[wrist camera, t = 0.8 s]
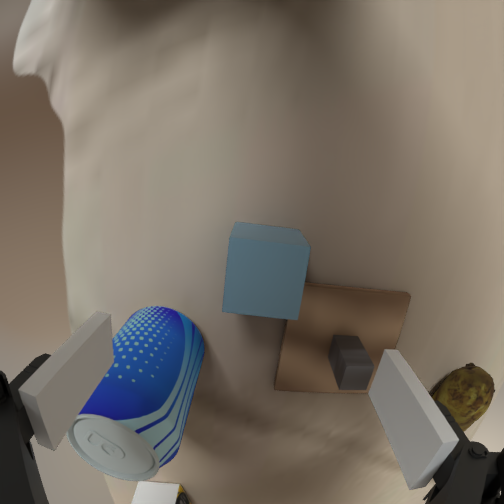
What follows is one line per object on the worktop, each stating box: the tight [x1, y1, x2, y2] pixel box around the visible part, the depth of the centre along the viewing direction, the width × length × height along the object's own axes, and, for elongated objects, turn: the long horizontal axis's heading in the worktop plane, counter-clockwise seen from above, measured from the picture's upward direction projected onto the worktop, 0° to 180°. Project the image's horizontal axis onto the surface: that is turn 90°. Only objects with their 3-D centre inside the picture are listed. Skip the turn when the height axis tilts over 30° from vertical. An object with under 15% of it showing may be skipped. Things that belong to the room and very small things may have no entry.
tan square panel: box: [274, 282, 411, 393], centre depth 28 cm, size 12×12×6 cm
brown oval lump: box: [431, 363, 495, 432], centre depth 29 cm, size 8×13×8 cm, turn 175°
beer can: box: [66, 306, 204, 481], centre depth 24 cm, size 8×8×16 cm
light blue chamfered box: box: [222, 222, 311, 320], centre depth 26 cm, size 6×6×7 cm
